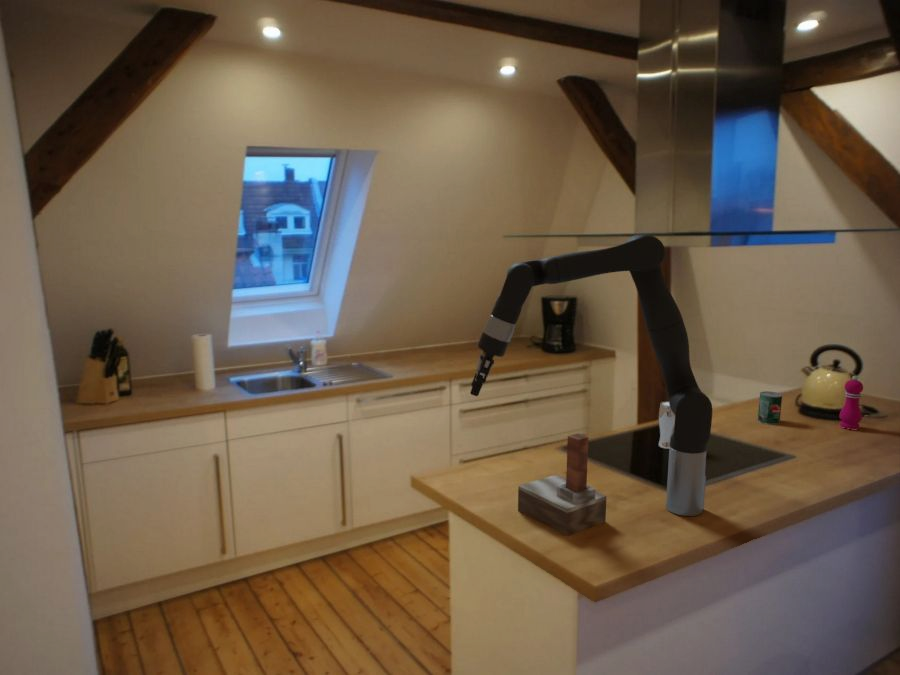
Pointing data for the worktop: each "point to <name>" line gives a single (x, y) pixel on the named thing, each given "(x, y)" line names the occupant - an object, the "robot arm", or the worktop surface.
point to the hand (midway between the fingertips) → (474, 390)
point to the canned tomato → (769, 407)
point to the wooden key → (577, 462)
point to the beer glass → (666, 424)
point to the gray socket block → (561, 505)
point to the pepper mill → (851, 404)
